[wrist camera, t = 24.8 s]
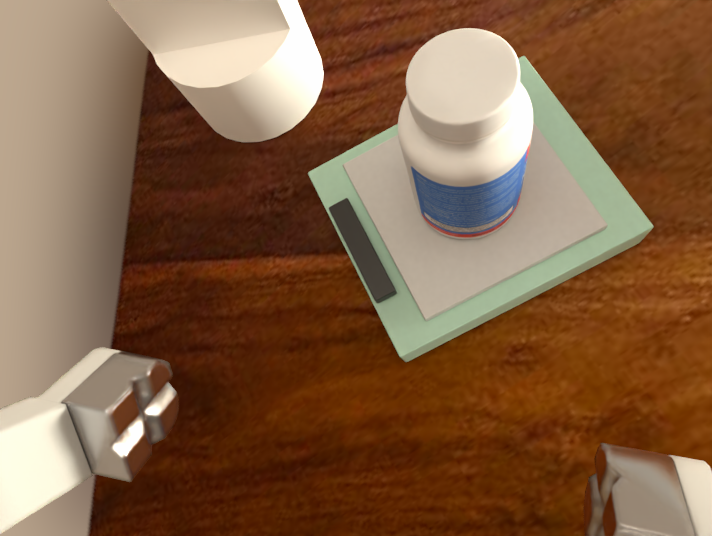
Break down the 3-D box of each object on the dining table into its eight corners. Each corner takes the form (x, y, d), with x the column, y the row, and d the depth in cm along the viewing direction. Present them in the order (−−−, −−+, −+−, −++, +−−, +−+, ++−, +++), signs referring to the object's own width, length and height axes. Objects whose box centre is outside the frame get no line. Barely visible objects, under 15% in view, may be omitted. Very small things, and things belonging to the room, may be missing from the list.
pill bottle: (540, 212, 26) (576, 99, 17) (443, 259, 27) (427, 173, 18) (488, 129, 28) (495, -13, 19) (398, 174, 29) (363, 56, 20)
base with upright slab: (196, 151, 36) (68, 23, 24) (202, 40, 38) (90, -120, 27) (324, 132, 34) (251, -14, 23) (322, 18, 37) (256, -163, 25)
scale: (405, 363, 29) (397, 356, 26) (318, 189, 33) (303, 166, 30) (640, 242, 28) (659, 221, 25) (520, 80, 32) (525, 46, 29)
